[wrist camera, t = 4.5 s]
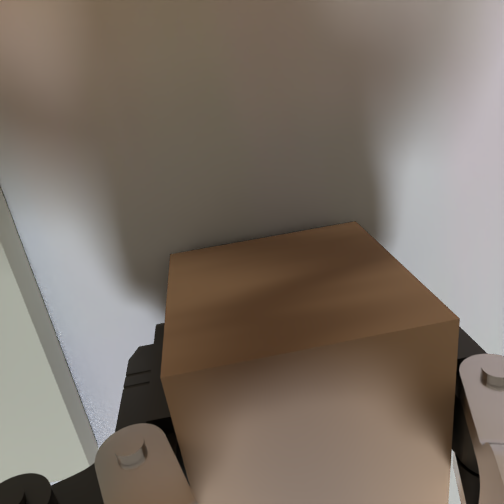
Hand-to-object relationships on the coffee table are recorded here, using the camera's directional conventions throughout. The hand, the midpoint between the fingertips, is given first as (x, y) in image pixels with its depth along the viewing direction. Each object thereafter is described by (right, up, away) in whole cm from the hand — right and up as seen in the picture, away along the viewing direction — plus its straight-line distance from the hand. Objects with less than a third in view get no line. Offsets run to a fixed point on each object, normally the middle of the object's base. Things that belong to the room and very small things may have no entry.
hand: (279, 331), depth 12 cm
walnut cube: (0, 0, +1) cm, 1 cm away
